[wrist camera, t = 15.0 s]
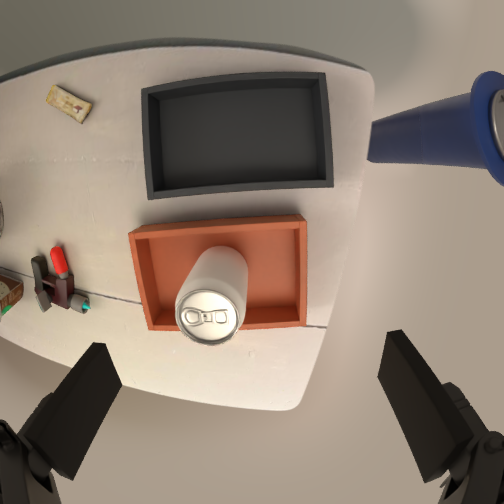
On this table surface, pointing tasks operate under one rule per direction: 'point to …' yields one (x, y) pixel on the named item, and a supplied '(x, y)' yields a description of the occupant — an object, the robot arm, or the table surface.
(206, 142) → the grey bin
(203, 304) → the can
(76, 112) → the snack bar
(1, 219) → the coffee mug
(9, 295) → the food container
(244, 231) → the terracotta bin
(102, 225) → the table surface
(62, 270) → the toy gun
